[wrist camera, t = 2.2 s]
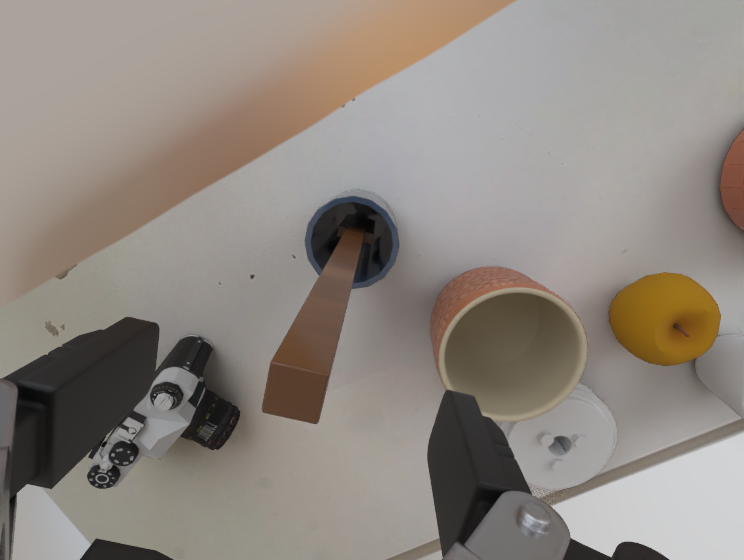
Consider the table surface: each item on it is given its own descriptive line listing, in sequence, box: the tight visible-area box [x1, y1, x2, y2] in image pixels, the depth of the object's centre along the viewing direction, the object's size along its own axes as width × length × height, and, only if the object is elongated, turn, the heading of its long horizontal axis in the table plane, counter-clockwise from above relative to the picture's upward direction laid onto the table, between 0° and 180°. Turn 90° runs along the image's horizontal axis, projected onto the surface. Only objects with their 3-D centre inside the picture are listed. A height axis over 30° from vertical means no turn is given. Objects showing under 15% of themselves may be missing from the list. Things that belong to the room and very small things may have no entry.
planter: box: [430, 267, 587, 422], centre depth 39 cm, size 12×12×11 cm
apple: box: [609, 272, 721, 366], centre depth 40 cm, size 8×8×9 cm
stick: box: [262, 218, 375, 424], centre depth 27 cm, size 2×3×32 cm, turn 77°
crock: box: [305, 189, 399, 289], centre depth 38 cm, size 7×7×10 cm
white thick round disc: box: [494, 382, 617, 490], centre depth 46 cm, size 13×13×5 cm
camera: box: [87, 335, 240, 489], centre depth 44 cm, size 15×11×10 cm
